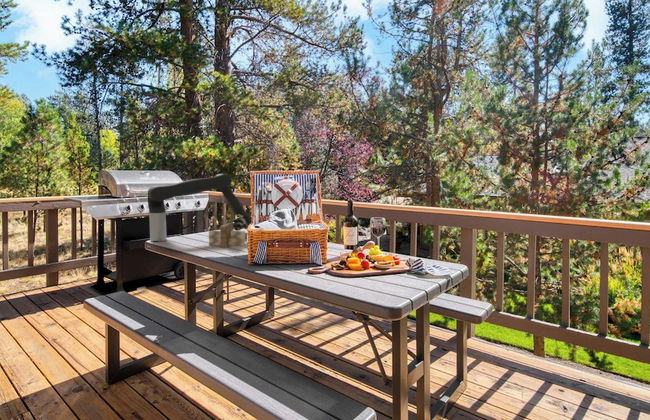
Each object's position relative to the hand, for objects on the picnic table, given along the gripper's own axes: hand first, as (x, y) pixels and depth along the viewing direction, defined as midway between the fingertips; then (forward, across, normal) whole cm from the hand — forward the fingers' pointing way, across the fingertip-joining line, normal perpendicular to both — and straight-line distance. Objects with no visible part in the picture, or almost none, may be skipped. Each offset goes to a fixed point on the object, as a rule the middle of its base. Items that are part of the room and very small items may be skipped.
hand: (233, 227), depth 256 cm
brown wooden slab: (+15, 0, +8) cm, 17 cm away
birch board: (+15, 0, +8) cm, 17 cm away
